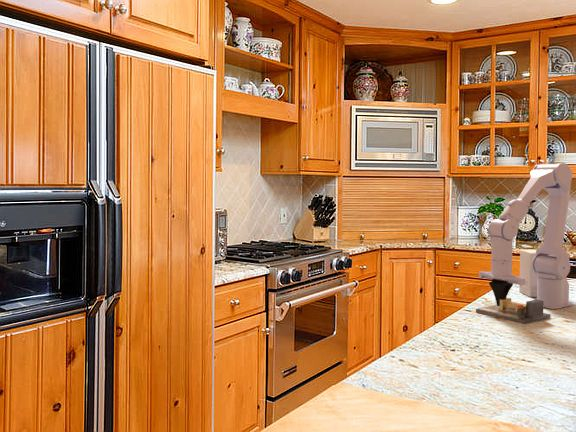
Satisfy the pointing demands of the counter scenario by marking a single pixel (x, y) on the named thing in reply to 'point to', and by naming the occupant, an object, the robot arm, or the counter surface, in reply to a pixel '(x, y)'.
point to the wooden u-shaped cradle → (510, 304)
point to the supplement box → (528, 273)
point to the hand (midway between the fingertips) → (500, 305)
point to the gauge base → (531, 315)
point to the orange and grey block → (520, 310)
